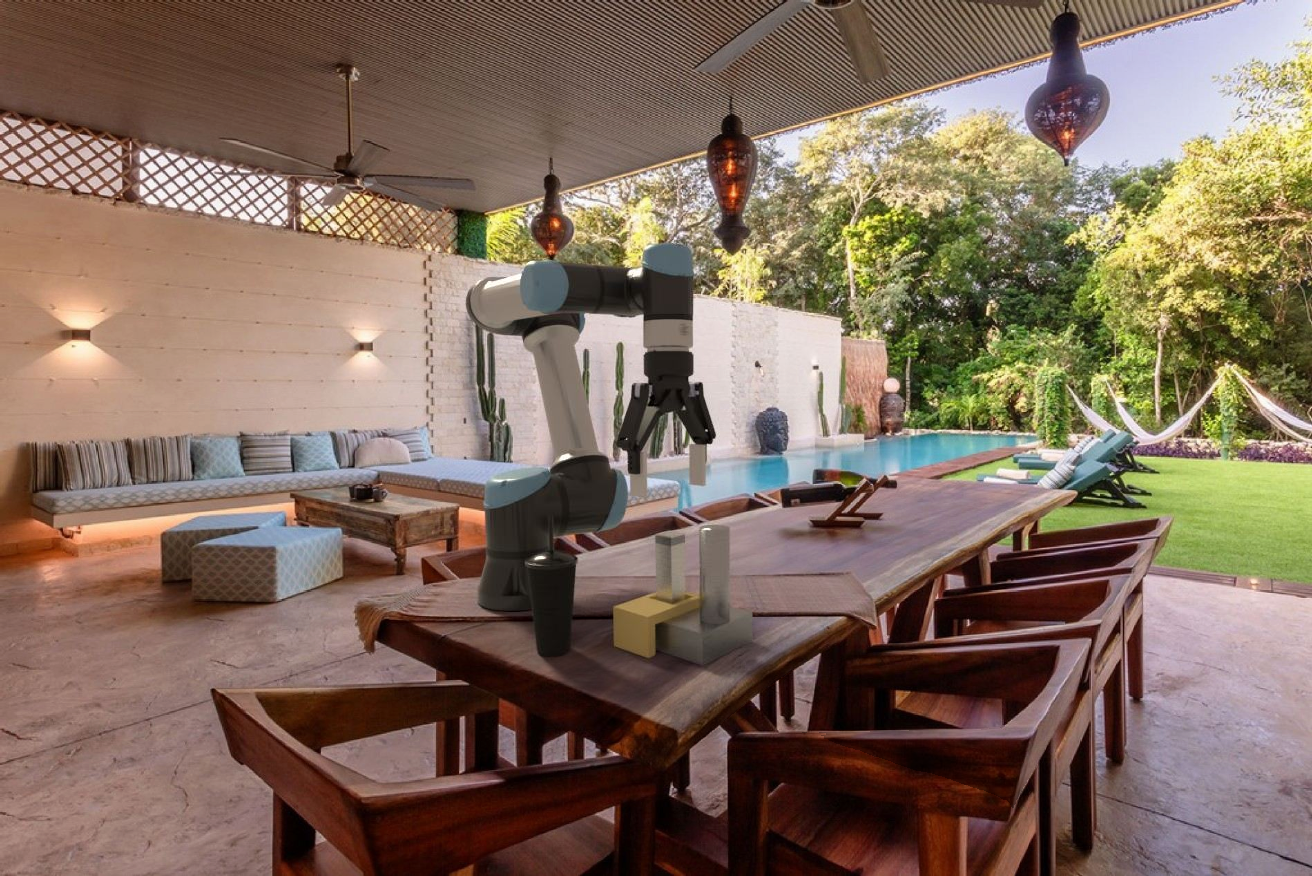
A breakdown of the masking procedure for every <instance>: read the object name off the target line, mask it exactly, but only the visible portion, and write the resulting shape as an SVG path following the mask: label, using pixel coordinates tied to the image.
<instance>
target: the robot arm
mask: <svg viewBox="0 0 1312 876" xmlns="http://www.w3.org/2000/svg"><path fill="white" fill-rule="evenodd" d="M693 261H694V260H693V251H692V249H691V248H690V247H689V246H688V245H685V244H682V243H675V242H672V243H671V242H664V243H663V242H662V243H653V244H649V245H646V247H644V249H643V251H642V260H641V265H639V266H634V267H625V266H616V265H613V266H612V265H599V264H587V263H574V262H565V261H564V262H563V261H556V260H552V259H545V260H544V259H543V260H531V261H528V262H527V263H526V264H525V266H524V268H523V269H522V271H521V273H519V274H515V275H511V276H509V277H507V276H488V277H486V278H482V279H480V280H477V281H476V282H474V283H473V284H472V286H471V287H470V288H469V290H468V291H467V294H466V297H465V308H466V312H467V314H468V316H469V318H470V319H471V321H472V322H473V323H474V324H475V325H476V326H478V327H479V328H480V329H482V330H484V331H486V332H488V333H491V334H495V335H499V336H516V337H521V339H522V343H523V347H524V349H526V351H527V352H530V353H532V355H533V358H534V359H533V360H534V364H535V368H536V369H535V370H536V372H537V378H538V384H539V387H540V393H541V398H542V402H543V407H544V413H545V418H546V421H547V426H548V427H547V428H548V432H549V436H550V441H551V446H552V450H553V451H552V452H553V455H554V456H553V457H554V462H553V463H552V464H551V466H550V468H549V469H548V468H547V467H544V466H542V467H541V466H540V467H539V466H534V467H533V466H532V467H523V468H517V469H512V470H507V471H503V472H500V473H497V474H494V475H493V476H491V477H490V478H488V480H487V481H486V483H485V486H484V501H483V507H484V524H485V525H484V527H485V528H484V529H485V557H486V558H485V562H484V565H483V569H482V573H481V576H480V579H479V584H478V586H477V591H476V592H477V594H476V595H477V603H478V604H479V606H481V607H483V608H486V609H488V610H494V611H501V612H502V611H504V612H505V611H506V612H510V611H511V612H513V611H514V612H516V611H529V610H532V604H531V595H530V586H529V578H528V569H527V566H526V565H525V560H526V559H527V558H529V557H531V556H533V555H535V554H537V553H539V552H542V551H547V550H549V523H548V516H553V537H554V538H558V537H559V538H560V537H565V536H566V537H567V536H574V535H581V534H582V535H583V534H589V533H595V534H596V533H600V532H602V531H608V530H612V529H615V528H617V527H618V526H619V525H620V524H621V522H622V521H623V520H624V517H625V515H626V511H627V509H628V508H627V507H628V502H629V495H630V496H632V497H637V498H639V497H640V498H647V497H648V451H643V449H644V448H645V446H646V445H647V441H648V440H649V438H650V437H651V434H652V433H653V431H654V429H655V427H656V425H657V423H658V422H659V420H660V418H661V417H662V416H664V414H668V413H669V414H670V413H675V414H676V415H677V417H679V420H680V422H681V423H682V425H683V426H684V428H685V430H686V432H687V433H688V435H689V437H690V439H691V441H692V442H693V443H689V444H688V447H689V451H688V452H689V456H688V457H689V458H688V461H689V462H688V463H689V469H688V470H689V471H688V472H689V478H688V479H689V482H688V483H689V485H691V486H698V487H699V486H700V487H705V486H706V485H707V484H706V474H707V473H706V470H707V469H706V468H707V467H706V464H707V459H708V457H707V456H708V455H707V454H708V449H707V448H708V445H712V444H713V442H714V440H715V439H716V437H717V432H716V431H715V427H714V423H713V421H712V417H711V415H710V411H709V408H708V404H707V401H706V398H705V391H704V384H703V382H701V381H690V380H689V377H691V376H694V372H695V371H694V369H695V368H694V364H695V363H694V361H695V359H694V353H693V352H692V351H690V349H691V348H693V347H694V283H695V282H694V280H695V279H694V278H695V270H694V265H693V263H694V262H693ZM585 314H590V315H611V316H612V315H613V316H615V317H617V318H618V317H619V318H636V317H637V316H642V315H643V316H642V317H643V318H642V319H643V321H642V322H643V323H642V324H643V328H642V329H643V330H642V331H643V332H642V333H643V335H642V336H643V337H642V339H643V341H642V342H643V343H642V344H643V345H642V347H643V348H644V349H646V352H644V354H643V376H645V377H647V382H634V383H632V384H631V389H630V400H629V402H628V405H627V408H626V412H625V414H624V417H623V421H622V424H621V427H620V430H619V432H618V433H619V434H618V436H617V439H616V442H615V445H616V448H620V449H621V451H623V452H627V453H626V454H627V472H628V474H629V484H630V485H629V488H628V484H627V479H626V476H625V474H624V473H623V472H622V471H621V470H619V469H618V468H615V467H613V468H611V465H610V460H609V456H608V455H606V454H604V453H603V452H601V451H600V450H599V446H598V443H597V438H596V433H595V429H594V424H593V421H592V417H591V413H590V408H589V403H588V399H587V395H586V390H585V385H584V382H583V377H582V373H581V372H582V371H581V369H580V364H579V359H578V355H577V350H576V347H575V345H576V344H577V342H578V341H579V339H580V335H581V334H582V333H583V331H584V328H585V325H586V317H585ZM629 492H630V493H629Z"/></svg>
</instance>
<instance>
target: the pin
mask: <svg viewBox="0 0 1312 876" xmlns="http://www.w3.org/2000/svg"><path fill="white" fill-rule="evenodd" d="M654 539H655V540H654V543H655V592H656V600H658V601H662V602H665V603H669V604H675V603H678V602H681V601H683V600H685V591H686V533H685V532H679V531H676V530H666V531H661V532H659V533H655V534H654Z"/></svg>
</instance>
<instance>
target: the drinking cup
mask: <svg viewBox="0 0 1312 876" xmlns="http://www.w3.org/2000/svg"><path fill="white" fill-rule="evenodd" d="M548 523H549V550H547V551H542V552H539V553H537V554H535V555H533V556H531V557H529V558H527V559H526V560H525V565H526V566H527V569H528V578H529V586H530V595H531V604H532V609H531V610H532V619H533V628H534V629H533V630H534V636H535V637H534V638H535V645H536V652H537V653H538V654H539V655H540V656H542V657H559V656H564V655H566V654H568V653H569V652H570V651H571V641H572V626H573V613H574V602H575V599H574V598H575V584H576V571H577V564H578V563H579V558H578V556H577V555H574V554H571V553H570V552H567V551H564V550H558V549H555V548H554V547H555V546H554V545H555V543H554V538H555V537H553V516H548Z"/></svg>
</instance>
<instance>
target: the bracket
mask: <svg viewBox="0 0 1312 876" xmlns="http://www.w3.org/2000/svg"><path fill="white" fill-rule="evenodd" d="M699 607H700V593H696V592H692V591H689V590H685V600H683V601H681V602H678V603H675V604H669V603H665V602H662V601H658V600H656V591H655V592H652V593H650V594H647V595H643V596H641V597H637V598H635V599H631V600H629V601H626V602H623V603H620V604H618V605H614V606H613V608H612V609H613V647H616V648H619V649H622V650H623V651H627V652H630V653H633V654H636V655H639V656H642V657H644V658H646V659H647V658H648V659H649V658H652V657H654V656H656V650H655V624H658V623H660V622H663V621H665V620H668V619H671V618H673V617H676V616H678V615H681V614H683V613H686V612H688V611H691V610H694V609H696V608H699Z"/></svg>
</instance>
